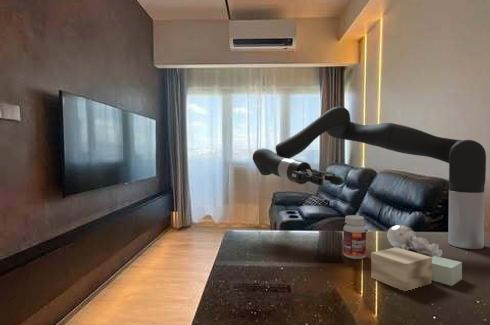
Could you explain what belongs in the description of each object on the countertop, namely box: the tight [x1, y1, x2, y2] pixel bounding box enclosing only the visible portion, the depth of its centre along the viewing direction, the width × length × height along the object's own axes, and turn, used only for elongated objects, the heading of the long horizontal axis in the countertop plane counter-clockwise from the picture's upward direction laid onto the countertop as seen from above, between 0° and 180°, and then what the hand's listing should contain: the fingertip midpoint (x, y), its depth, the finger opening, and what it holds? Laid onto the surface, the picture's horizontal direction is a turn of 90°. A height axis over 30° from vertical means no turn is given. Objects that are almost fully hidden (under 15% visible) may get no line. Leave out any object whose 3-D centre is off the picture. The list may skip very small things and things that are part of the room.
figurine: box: [386, 224, 443, 257], centre depth 94 cm, size 11×7×15 cm
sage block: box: [432, 256, 463, 287], centre depth 75 cm, size 6×6×4 cm
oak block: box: [370, 247, 433, 292], centre depth 74 cm, size 9×9×6 cm
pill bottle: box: [342, 214, 367, 260], centre depth 92 cm, size 6×6×11 cm
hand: (331, 181), depth 96 cm, fingers open, 8 cm apart
